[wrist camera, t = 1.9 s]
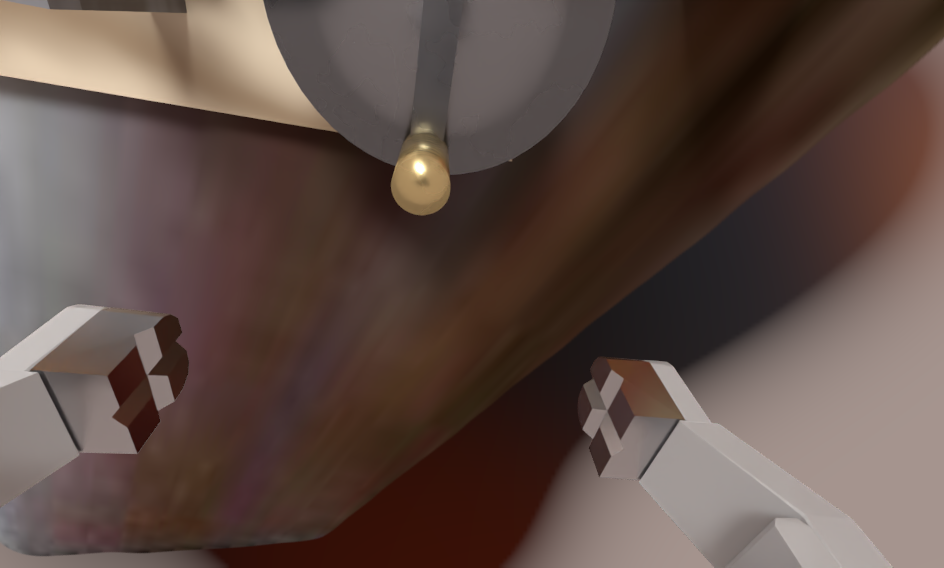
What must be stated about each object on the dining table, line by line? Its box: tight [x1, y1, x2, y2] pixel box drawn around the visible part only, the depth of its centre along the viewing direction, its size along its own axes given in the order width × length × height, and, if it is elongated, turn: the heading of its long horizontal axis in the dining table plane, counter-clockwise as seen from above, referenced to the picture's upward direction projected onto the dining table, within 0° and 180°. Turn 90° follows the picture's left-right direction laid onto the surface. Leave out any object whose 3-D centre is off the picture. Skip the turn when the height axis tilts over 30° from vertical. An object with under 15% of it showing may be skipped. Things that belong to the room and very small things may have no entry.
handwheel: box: [263, 0, 615, 215], centre depth 16 cm, size 15×15×6 cm
